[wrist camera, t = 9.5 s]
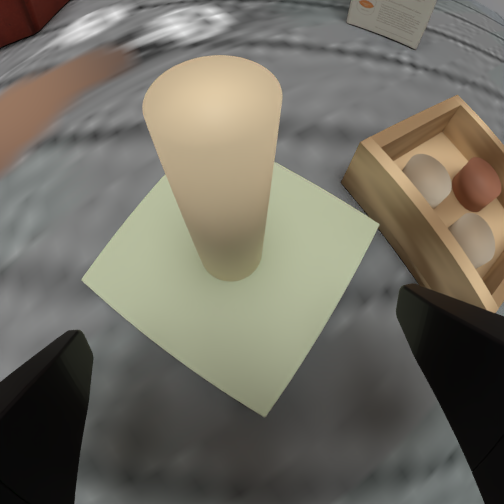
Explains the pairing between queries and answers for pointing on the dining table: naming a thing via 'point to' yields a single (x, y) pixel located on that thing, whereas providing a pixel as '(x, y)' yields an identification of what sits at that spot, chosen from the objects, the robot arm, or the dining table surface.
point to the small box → (393, 18)
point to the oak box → (438, 199)
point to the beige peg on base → (229, 236)
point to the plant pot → (25, 17)
